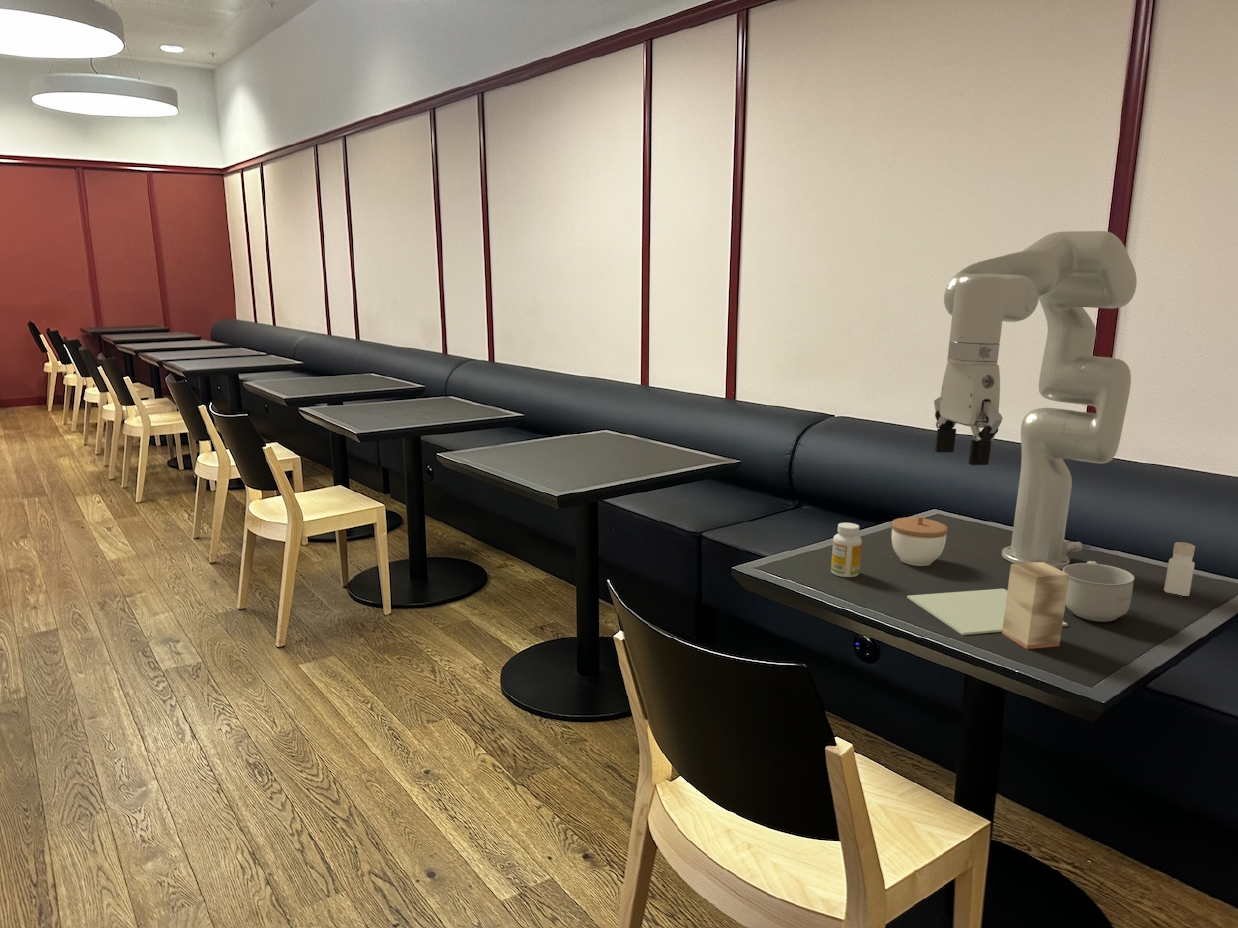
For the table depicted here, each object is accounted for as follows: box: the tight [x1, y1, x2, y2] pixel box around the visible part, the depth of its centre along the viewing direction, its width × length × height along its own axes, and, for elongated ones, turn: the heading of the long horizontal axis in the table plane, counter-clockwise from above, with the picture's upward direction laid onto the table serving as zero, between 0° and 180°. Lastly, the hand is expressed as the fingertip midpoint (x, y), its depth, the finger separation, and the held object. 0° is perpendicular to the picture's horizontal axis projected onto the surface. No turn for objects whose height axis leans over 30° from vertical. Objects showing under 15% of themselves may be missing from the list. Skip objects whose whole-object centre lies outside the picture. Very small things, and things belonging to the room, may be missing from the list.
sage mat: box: [906, 588, 1068, 636], centre depth 150 cm, size 20×16×1 cm
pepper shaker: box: [1163, 541, 1196, 597], centre depth 160 cm, size 4×4×10 cm
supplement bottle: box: [830, 522, 863, 578], centre depth 167 cm, size 5×5×10 cm
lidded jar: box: [891, 515, 949, 567], centre depth 175 cm, size 11×11×9 cm
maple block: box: [1001, 562, 1070, 650], centre depth 138 cm, size 6×6×12 cm
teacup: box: [1062, 560, 1135, 623], centre depth 150 cm, size 14×11×8 cm
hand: (960, 458), depth 142 cm, fingers open, 9 cm apart
